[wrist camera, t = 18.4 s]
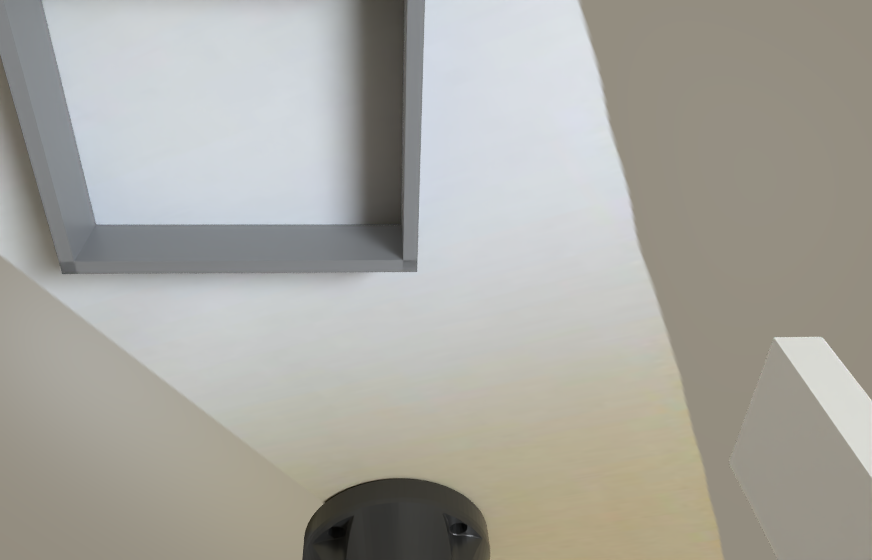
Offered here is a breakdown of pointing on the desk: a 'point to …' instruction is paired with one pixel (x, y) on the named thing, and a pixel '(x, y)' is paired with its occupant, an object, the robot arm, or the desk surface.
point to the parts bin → (192, 244)
